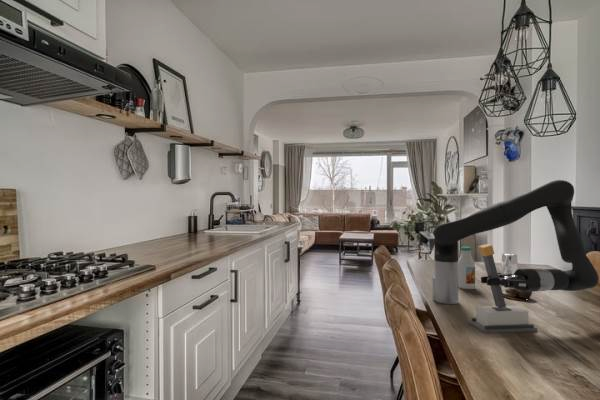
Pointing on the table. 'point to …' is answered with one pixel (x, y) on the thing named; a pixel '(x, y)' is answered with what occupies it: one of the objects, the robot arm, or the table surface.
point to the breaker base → (501, 319)
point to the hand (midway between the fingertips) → (484, 280)
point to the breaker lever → (492, 273)
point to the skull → (516, 294)
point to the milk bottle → (466, 269)
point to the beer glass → (509, 263)
